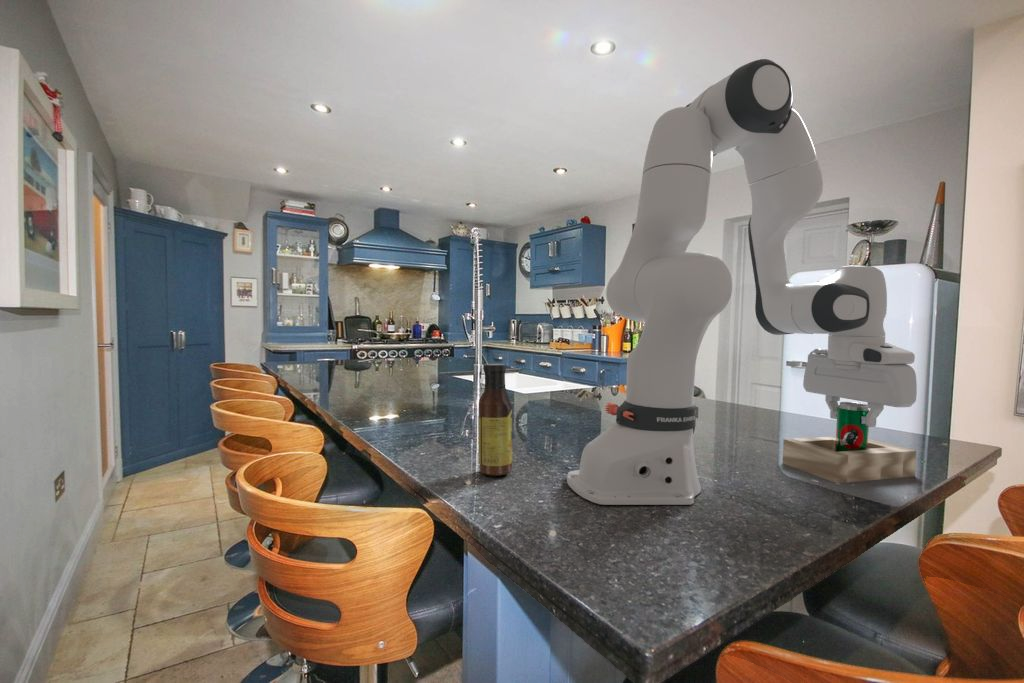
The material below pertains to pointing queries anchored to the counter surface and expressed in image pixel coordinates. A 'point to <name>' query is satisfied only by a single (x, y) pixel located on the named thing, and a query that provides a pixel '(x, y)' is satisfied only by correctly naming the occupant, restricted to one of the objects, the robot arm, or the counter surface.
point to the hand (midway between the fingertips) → (852, 422)
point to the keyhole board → (848, 460)
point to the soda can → (851, 427)
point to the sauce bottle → (495, 423)
